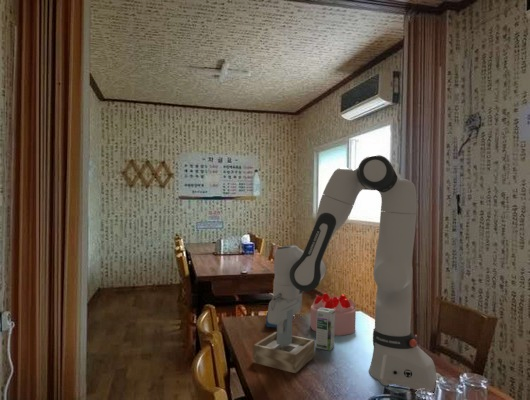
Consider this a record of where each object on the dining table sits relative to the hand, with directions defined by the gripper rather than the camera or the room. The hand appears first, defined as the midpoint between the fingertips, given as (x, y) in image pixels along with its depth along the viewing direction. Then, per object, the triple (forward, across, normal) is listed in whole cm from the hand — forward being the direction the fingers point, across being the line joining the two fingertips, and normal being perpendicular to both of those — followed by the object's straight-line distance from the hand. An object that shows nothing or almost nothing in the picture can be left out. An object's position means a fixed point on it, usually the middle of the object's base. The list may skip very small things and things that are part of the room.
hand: (284, 330), depth 137 cm
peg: (+5, 0, 0) cm, 5 cm away
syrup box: (+10, +19, -8) cm, 23 cm away
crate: (+10, 0, 0) cm, 10 cm away
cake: (+10, +42, -3) cm, 43 cm away
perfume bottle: (+11, +32, +21) cm, 40 cm away
